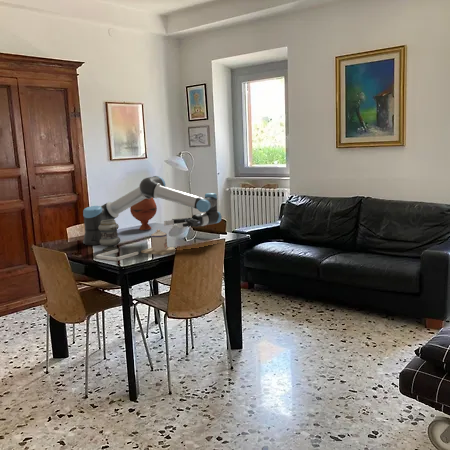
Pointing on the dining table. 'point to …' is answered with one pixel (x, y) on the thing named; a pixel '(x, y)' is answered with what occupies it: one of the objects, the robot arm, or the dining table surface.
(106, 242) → the apothecary jar
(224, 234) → the dining table surface
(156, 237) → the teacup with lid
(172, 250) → the oak board
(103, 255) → the cup dock
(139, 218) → the goblet
